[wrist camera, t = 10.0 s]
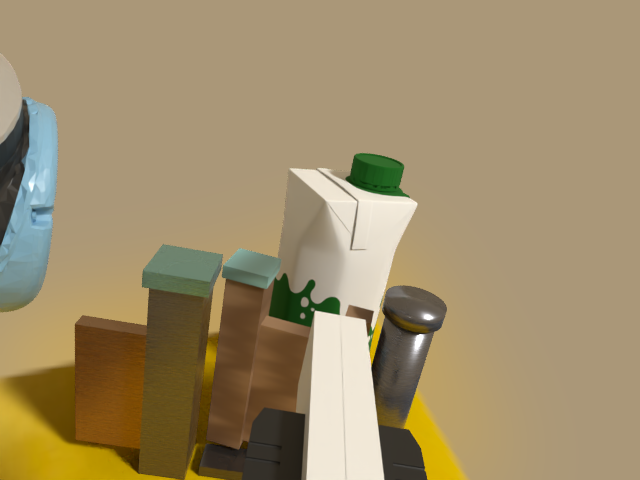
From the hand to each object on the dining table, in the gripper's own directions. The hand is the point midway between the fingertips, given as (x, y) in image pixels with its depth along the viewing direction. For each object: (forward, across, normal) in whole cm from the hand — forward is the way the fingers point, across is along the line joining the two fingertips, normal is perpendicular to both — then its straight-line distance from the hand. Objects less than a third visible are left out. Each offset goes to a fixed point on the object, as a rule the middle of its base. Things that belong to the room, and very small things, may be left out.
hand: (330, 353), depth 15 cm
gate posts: (+13, -2, -20) cm, 24 cm away
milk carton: (+25, +2, -21) cm, 32 cm away
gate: (+14, 0, -19) cm, 23 cm away
